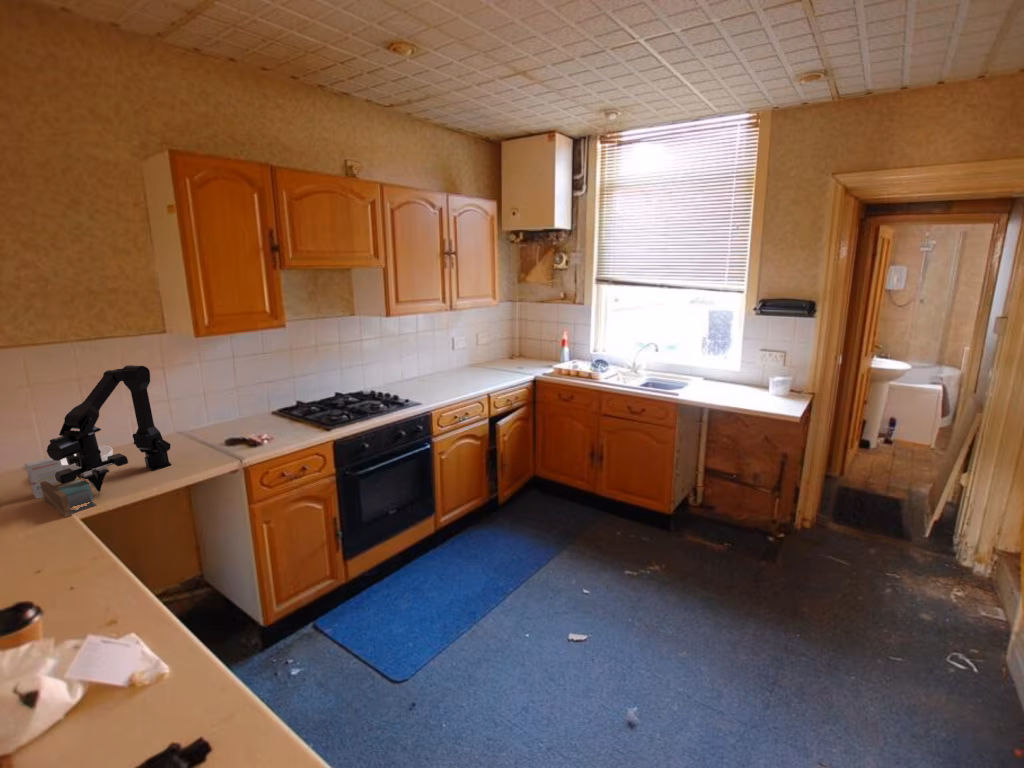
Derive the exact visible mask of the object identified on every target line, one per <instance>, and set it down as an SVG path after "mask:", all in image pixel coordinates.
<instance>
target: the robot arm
mask: <svg viewBox="0 0 1024 768" xmlns="http://www.w3.org/2000/svg"><path fill="white" fill-rule="evenodd" d="M102 375H103V376H102V378H101V379H100V380H99V381H98V382H97V384H96V386H94V388H93V389H92V390H91V392H90V393H89V394H88V395H87V397H86V398H84V401H83V402H81V403H80V404H78V405H76V406H74V407H73V408H72V409H71V410H70V411H68V413H66V414H65V417H64V419H63V420H64V421H63V425H62V426H61V429H60V431H59V434H58V435H59V437H56V438H52V439H50V440H49V444H48V445H47V447H46V453H47V455H48V458H52V459H53V460H55V461H59V460H62V459H64V458H66V459H67V462H68V465H72V464H76V466H78V467H81V468H80V469H76V470H71V469H70V468H68V469H65V470H62V471H58V472H56V474H55V478H56V480H57V481H58V482H60V483H61V484H65V483H68V482H71V481H74V480H75V479H76V478H77V477H79V478H80V477H81V478H82V479H83V480H88V481H89V483H90V484H91V485H92V486H93V488H95V490H96V491H97V492H99V493H100V491H101V490H102V485H103V482H104V479H105V477H106V475H107V473H109V472H110V469H108V467H109V466H111V465H115V466H117V467H121V466H124V465H127V464H129V459H128V457H127V456H126V455H125V454H122V453H120V452H119V453H115V454H113V455H111V456H108V458H107V459H108V460H106V461H102V459H101V455H100V453H101V451H100V450H99V447H98V446H99V445H98V441H97V440H98V439H97V437H96V433H98V432H100V431H101V430H102V429H101V428H99V427H97V426H95V425H96V424H97V422H98V420H99V418H100V410H101V408H102V407H103V405H104V404H105V403H106V401H107V400H108V399H109V397H110V396H111V395H112V393H113V392H114V390H115V389H116V387H118V385H119V384H120V382H123V384H124V385H125V386H126V387H127V389H128V390H129V391H130V396H131V399H132V405H133V410H134V414H135V418H136V419H135V420H136V424H137V430H136V432H135V433H132V439H133V445H135V447H136V448H137V449H139V451H140V453H144V454H145V456H144V462H145V463H144V464H145V468H147V469H149V470H150V471H151V470H152V471H155V470H159V469H160V470H161V469H163V468H166V467H170V466H171V465H172V463H171V462H170V460H169V453H168V451H170V450H171V446H172V445H171V442H170V443H169V442H168V441H167V440H164V438H163V435H162V434H161V431H160V430H159V428H157V427H156V426H155V423H154V418H153V413H152V408H151V404H150V403H151V402H150V398H149V393H148V387H149V385H150V383H151V372H150V369H149V368H148V367H146V365H133V364H131V365H129V364H128V365H125V366H124V367H123V368H117V369H108V370H106V371H104V372H103V374H102ZM74 454H77V456H74ZM92 471H93V473H92ZM77 475H79V476H77Z"/></svg>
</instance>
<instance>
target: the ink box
mask: <svg viewBox="0 0 1024 768" xmlns="http://www.w3.org/2000/svg"><path fill="white" fill-rule="evenodd" d="M24 466H25V470H26V472H27V476H28V481H29V484H30V487H31V491H32V494H33V497H34V498H35V499H37V500H38V499H40V498H41V499H42V498H44V496H43V492H42V488H41V485H40V482H43V481H47V482H48V483H50V484H55V483H58V481H57V480H56V478H55V474H56V472H58V471H62V470H63V468H62V464H61V461H60V460H59V461H55V460H53V459H52V458H50V457H47V458H43V459H38V460H34V461H31V462H27V463H25V464H24Z"/></svg>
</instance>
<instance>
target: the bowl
mask: <svg viewBox="0 0 1024 768" xmlns="http://www.w3.org/2000/svg"><path fill="white" fill-rule="evenodd" d="M98 447H99V450H100V451H101V453H100V455H101V459H102V461H106V460H108V459H107V458H108V456H111V455H114V453H113V452H114V450H113V447H111V446H109V445H98ZM74 456H77V454H74ZM60 461H61V464H62V468H63V470H65V469H68V468H70V469H71V470H76V469H80V468H81V467H78V466H76V464H72V465H68V462H67V459H66V458H64V459H62V460H60ZM92 473H93V471H92ZM93 474H94V473H93ZM76 477H80V476H79V475H77V476H76Z"/></svg>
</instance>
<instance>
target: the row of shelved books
mask: <svg viewBox="0 0 1024 768" xmlns="http://www.w3.org/2000/svg"><path fill="white" fill-rule="evenodd" d="M76 477H77V478H76V479H75V480H74V481H71V482H68V483H65V484H61V483H60V482H58V483H55V484H51V485H53V486H54V487H56V488H57V489H58V488H61V487H65V486H68V485H71V484H75V483H78V482H81V481H82V480H81V478H80V477H79V476H76Z"/></svg>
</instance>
